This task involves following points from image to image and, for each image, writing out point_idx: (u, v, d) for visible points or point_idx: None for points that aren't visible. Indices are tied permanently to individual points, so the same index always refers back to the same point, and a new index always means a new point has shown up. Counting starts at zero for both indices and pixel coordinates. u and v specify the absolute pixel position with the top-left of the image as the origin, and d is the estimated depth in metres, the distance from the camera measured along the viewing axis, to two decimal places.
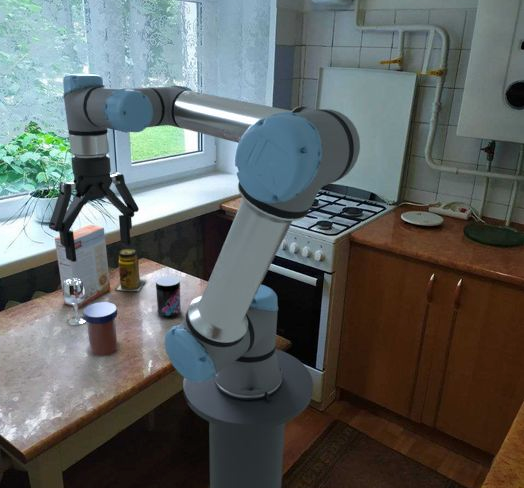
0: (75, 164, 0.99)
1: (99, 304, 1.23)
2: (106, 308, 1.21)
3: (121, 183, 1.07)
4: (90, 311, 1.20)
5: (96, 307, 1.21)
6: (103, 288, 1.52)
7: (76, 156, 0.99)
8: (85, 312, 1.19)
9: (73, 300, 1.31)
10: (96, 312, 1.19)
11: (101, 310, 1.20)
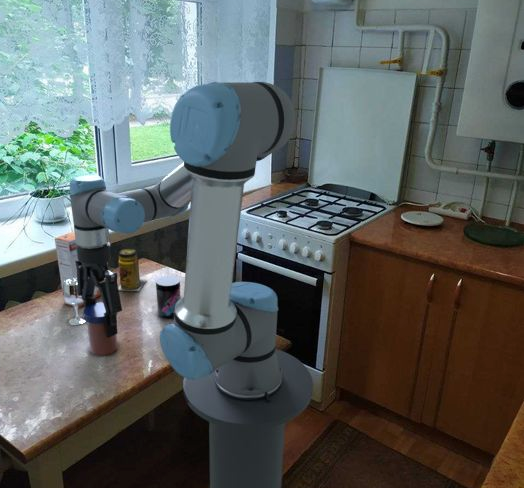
0: None
1: (99, 304, 1.23)
2: None
3: (105, 282, 1.13)
4: (90, 311, 1.20)
5: (96, 307, 1.21)
6: None
7: None
8: (85, 312, 1.19)
9: (73, 300, 1.31)
10: (96, 312, 1.19)
11: (101, 310, 1.20)
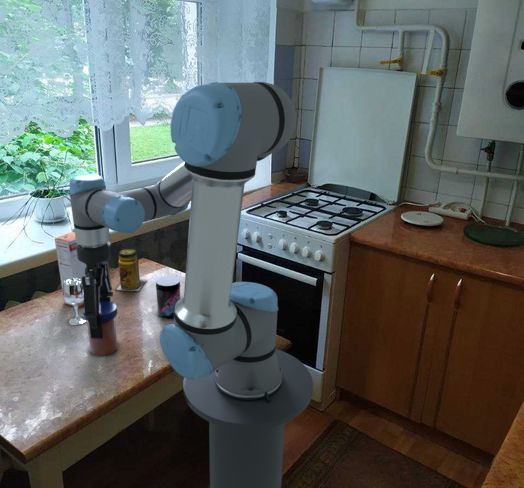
0: (90, 254, 1.11)
1: None
2: None
3: (107, 263, 1.22)
4: (108, 309, 1.20)
5: None
6: None
7: (89, 247, 1.11)
8: (112, 310, 1.20)
9: (73, 300, 1.31)
10: (106, 306, 1.21)
11: (101, 306, 1.21)
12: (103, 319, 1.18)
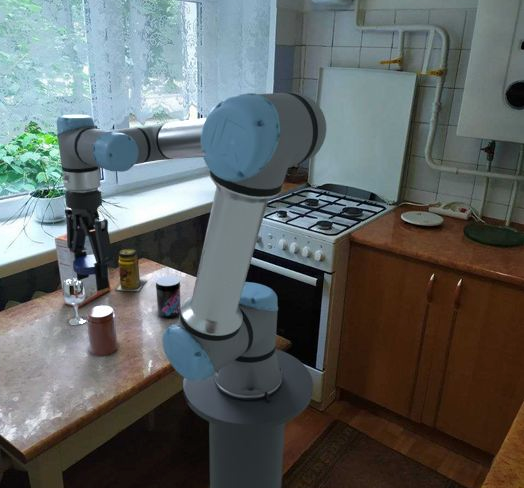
0: (94, 198, 1.07)
1: (90, 265, 1.12)
2: (83, 261, 1.14)
3: None
4: None
5: (94, 262, 1.13)
6: None
7: (90, 191, 1.06)
8: None
9: (73, 300, 1.31)
10: (94, 258, 1.16)
11: (89, 259, 1.15)
12: None
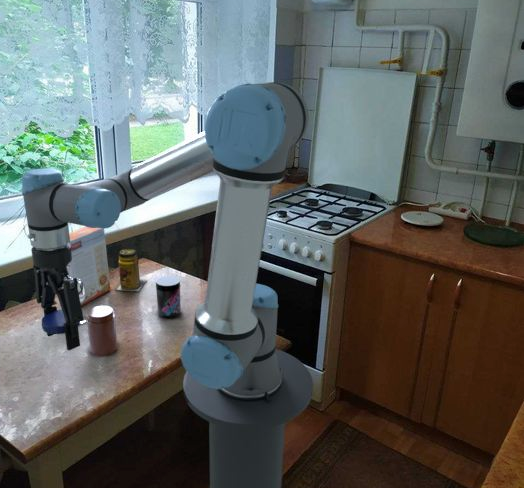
0: (63, 256, 1.00)
1: (60, 323, 1.06)
2: (53, 318, 1.08)
3: None
4: None
5: (64, 319, 1.07)
6: (103, 288, 1.52)
7: (58, 248, 1.00)
8: None
9: None
10: None
11: (59, 316, 1.09)
12: None
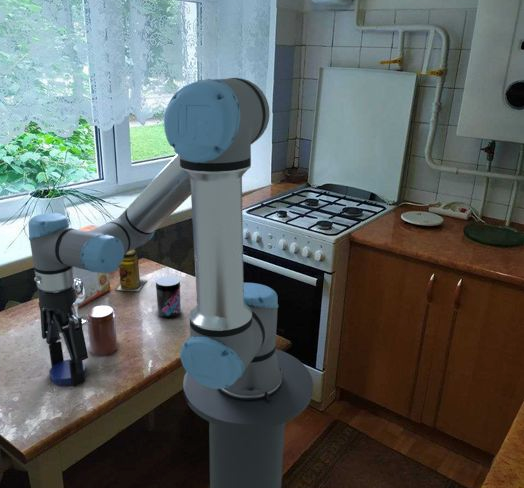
0: (68, 297, 1.04)
1: (67, 375, 1.11)
2: (60, 369, 1.13)
3: None
4: None
5: None
6: (103, 288, 1.52)
7: (64, 290, 1.03)
8: (83, 364, 1.15)
9: None
10: None
11: (66, 367, 1.14)
12: None
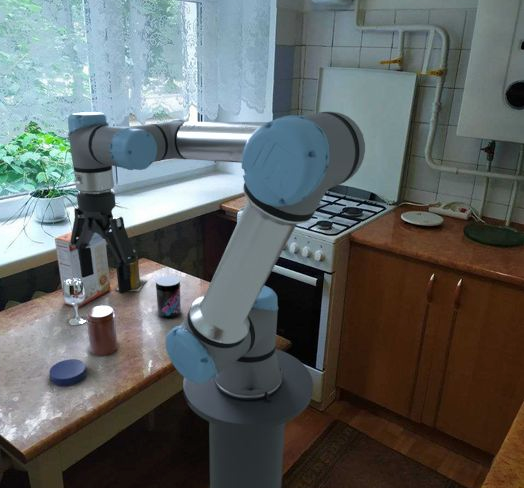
0: (108, 199, 1.01)
1: (67, 375, 1.11)
2: (60, 369, 1.13)
3: None
4: (77, 365, 1.14)
5: (71, 371, 1.12)
6: (103, 288, 1.52)
7: (104, 192, 1.01)
8: (83, 364, 1.15)
9: (73, 300, 1.31)
10: (71, 364, 1.15)
11: (66, 367, 1.14)
12: (83, 375, 1.13)
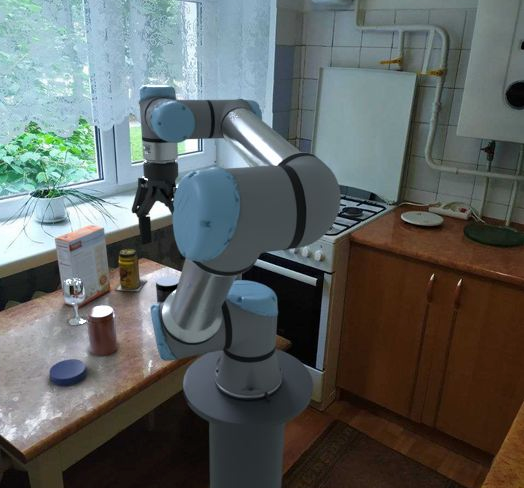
0: (173, 169, 1.07)
1: (67, 375, 1.11)
2: (60, 369, 1.13)
3: None
4: (77, 365, 1.14)
5: (71, 371, 1.12)
6: (103, 288, 1.52)
7: (170, 162, 1.06)
8: (83, 364, 1.15)
9: (73, 300, 1.31)
10: (71, 364, 1.15)
11: (66, 367, 1.14)
12: (83, 375, 1.13)
